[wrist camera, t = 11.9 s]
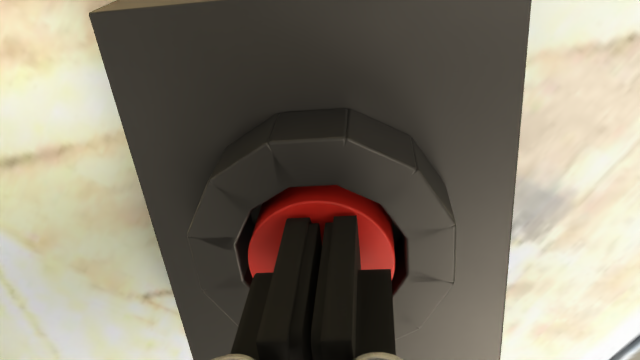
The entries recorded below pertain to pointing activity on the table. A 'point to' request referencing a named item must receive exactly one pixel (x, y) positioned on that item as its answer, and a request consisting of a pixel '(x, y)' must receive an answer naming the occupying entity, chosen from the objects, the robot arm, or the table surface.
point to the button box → (328, 144)
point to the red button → (322, 224)
